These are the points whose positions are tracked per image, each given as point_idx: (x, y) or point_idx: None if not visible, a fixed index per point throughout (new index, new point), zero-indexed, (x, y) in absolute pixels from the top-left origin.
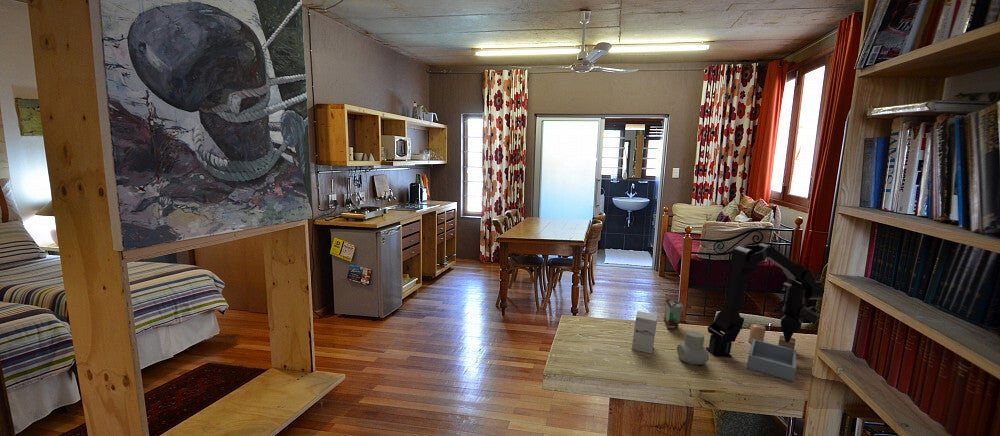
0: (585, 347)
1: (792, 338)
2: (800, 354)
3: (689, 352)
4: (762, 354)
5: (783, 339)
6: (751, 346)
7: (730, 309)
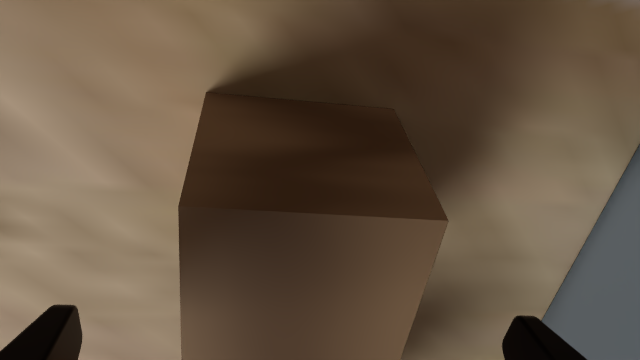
0: None
1: (205, 248)
2: (285, 6)
3: None
4: None
5: (372, 348)
6: None
7: None
